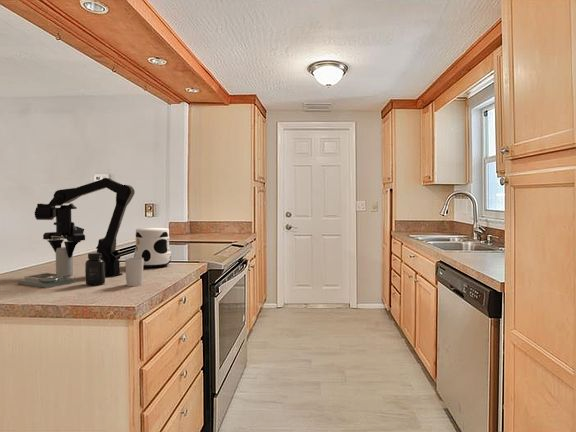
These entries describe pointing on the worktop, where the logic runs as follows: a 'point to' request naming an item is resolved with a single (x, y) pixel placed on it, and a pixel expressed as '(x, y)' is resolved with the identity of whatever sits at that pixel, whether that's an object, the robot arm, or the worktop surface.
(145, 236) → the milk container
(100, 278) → the supplement bottle
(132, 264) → the drinking glass
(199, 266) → the worktop surface
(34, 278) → the grey flat piece
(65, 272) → the beverage can
